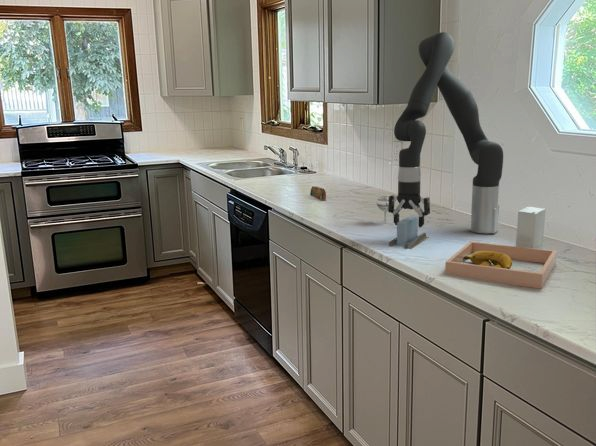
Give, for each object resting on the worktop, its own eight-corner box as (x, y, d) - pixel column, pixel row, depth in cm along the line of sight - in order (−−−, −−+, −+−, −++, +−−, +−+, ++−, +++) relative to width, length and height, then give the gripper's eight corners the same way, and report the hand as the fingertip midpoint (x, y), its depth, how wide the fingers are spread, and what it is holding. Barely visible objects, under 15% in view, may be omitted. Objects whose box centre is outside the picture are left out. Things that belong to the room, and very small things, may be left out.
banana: (478, 260, 180) (478, 242, 178) (527, 275, 163) (528, 256, 162) (440, 268, 173) (441, 249, 171) (488, 285, 156) (489, 265, 155)
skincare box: (524, 250, 189) (527, 205, 185) (543, 253, 185) (546, 208, 181) (514, 255, 183) (516, 210, 179) (533, 258, 179) (536, 212, 175)
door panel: (417, 238, 203) (417, 216, 201) (405, 246, 193) (405, 223, 191) (409, 237, 205) (409, 215, 203) (396, 245, 195) (397, 222, 193)
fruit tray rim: (555, 263, 173) (556, 250, 172) (541, 288, 152) (542, 274, 151) (469, 253, 187) (470, 241, 186) (445, 275, 165) (445, 261, 164)
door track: (428, 239, 205) (429, 233, 204) (411, 252, 190) (411, 244, 189) (405, 237, 209) (405, 230, 209) (385, 248, 194) (385, 241, 194)
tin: (309, 201, 284) (309, 185, 282) (315, 201, 285) (315, 184, 283) (321, 207, 270) (320, 189, 268) (327, 206, 271) (326, 189, 269)
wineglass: (393, 229, 221) (393, 199, 218) (376, 229, 222) (376, 199, 220) (394, 226, 227) (394, 196, 225) (377, 225, 229) (377, 196, 226)
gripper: (433, 179, 194) (432, 225, 197) (393, 177, 201) (393, 221, 205) (425, 182, 188) (424, 230, 191) (385, 180, 195) (385, 226, 199)
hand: (408, 225), depth 198 cm, fingers open, 8 cm apart
